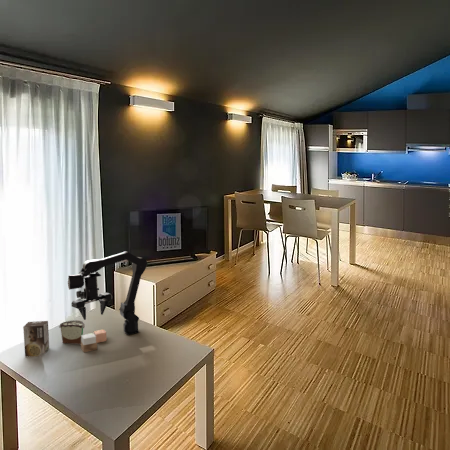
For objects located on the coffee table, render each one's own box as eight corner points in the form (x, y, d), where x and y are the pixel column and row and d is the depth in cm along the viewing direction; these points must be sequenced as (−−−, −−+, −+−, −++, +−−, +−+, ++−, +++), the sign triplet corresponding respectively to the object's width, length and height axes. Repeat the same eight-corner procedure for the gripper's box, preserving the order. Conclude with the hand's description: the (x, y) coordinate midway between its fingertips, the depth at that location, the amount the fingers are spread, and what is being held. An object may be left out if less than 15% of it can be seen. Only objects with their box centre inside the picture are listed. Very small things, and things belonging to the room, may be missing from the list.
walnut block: (94, 345, 181) (93, 338, 181) (97, 349, 176) (96, 342, 176) (81, 348, 178) (80, 341, 178) (83, 352, 173) (83, 345, 172)
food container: (89, 339, 188) (89, 320, 188) (84, 344, 182) (83, 324, 181) (66, 339, 189) (65, 319, 189) (59, 343, 183) (59, 323, 183)
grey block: (93, 339, 180) (93, 333, 180) (96, 342, 175) (95, 336, 175) (81, 341, 177) (81, 335, 177) (83, 345, 173) (83, 338, 172)
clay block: (104, 338, 191) (103, 329, 190) (106, 341, 186) (106, 332, 186) (93, 340, 188) (93, 331, 188) (96, 343, 184) (95, 334, 184)
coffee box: (50, 353, 178) (48, 320, 177) (45, 359, 172) (44, 325, 171) (29, 354, 177) (28, 321, 176) (24, 360, 171) (22, 326, 169)
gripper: (99, 280, 196) (101, 309, 197) (64, 288, 182) (67, 319, 183) (111, 283, 189) (113, 313, 190) (76, 291, 175) (78, 323, 176)
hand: (93, 317), depth 185 cm, fingers open, 9 cm apart
